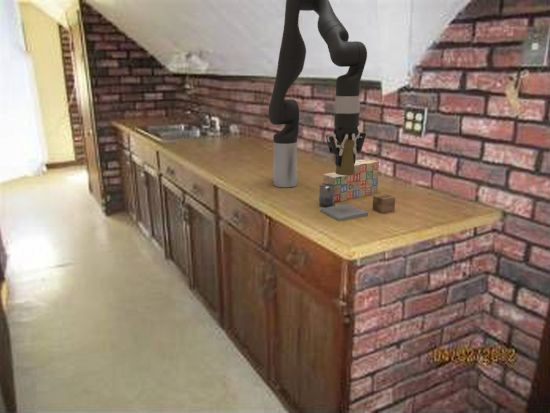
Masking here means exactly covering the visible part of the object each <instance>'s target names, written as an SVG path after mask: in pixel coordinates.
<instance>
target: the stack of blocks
mask: <svg viewBox="0 0 550 413" xmlns="http://www.w3.org/2000/svg"><path fill="white" fill-rule="evenodd" d="M379 164H380V162H379V161H378V160H374V159H369V158H364V159H355V164H354V171H355V174H353V175H338V174H336V171H334V172H330V173H329V172H328V173H323V175H322V184H332V185H334V203H338V202H343V201H349V200H351V199H352V200H353V199H357V197H358V198H361V196H362V197H366V195H367V196H371V195H376V194H378V187H379V186H378V185H379V183H378V181H379V173H380V172H379V167H380V166H379ZM375 193H376V194H375ZM370 194H371V195H370Z"/></svg>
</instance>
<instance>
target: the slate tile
mask: <svg viewBox="0 0 550 413" xmlns="http://www.w3.org/2000/svg"><path fill="white" fill-rule="evenodd" d="M319 211H320V213H323V214H324V215H327V216H328V217H330V218H333V219H334V218H335V220H336V219H337V221H338V220H339V221H338V222H342V220H343V221H346V220H352V219H357V218H361V217H367V216H369V212H368V211H365V210H364V209H361V208H359V207H356V206H354V205H352V204H349V203H343V204H338V205H334V206H332V207H326V208H324V207H320V209H319Z"/></svg>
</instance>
